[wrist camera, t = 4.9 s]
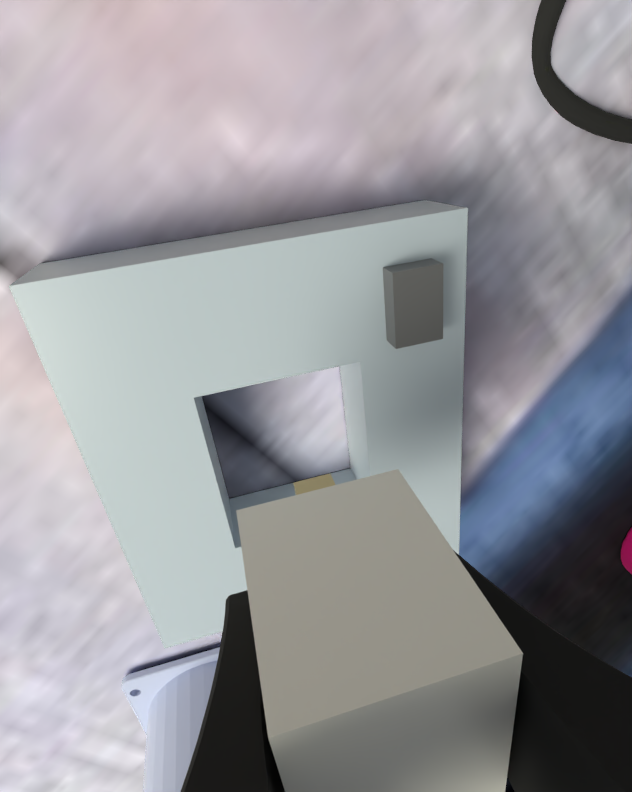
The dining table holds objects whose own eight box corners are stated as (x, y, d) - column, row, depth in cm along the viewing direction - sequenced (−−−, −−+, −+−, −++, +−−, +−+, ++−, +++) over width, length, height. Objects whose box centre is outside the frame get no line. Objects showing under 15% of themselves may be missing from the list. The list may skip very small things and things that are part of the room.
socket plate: (429, 518, 24) (467, 575, 21) (167, 590, 22) (163, 666, 19) (424, 200, 17) (481, 210, 14) (39, 263, 15) (-2, 293, 12)
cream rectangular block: (392, 579, 15) (502, 806, 10) (266, 616, 14) (312, 880, 9) (383, 447, 13) (523, 653, 7) (232, 484, 12) (268, 737, 7)
